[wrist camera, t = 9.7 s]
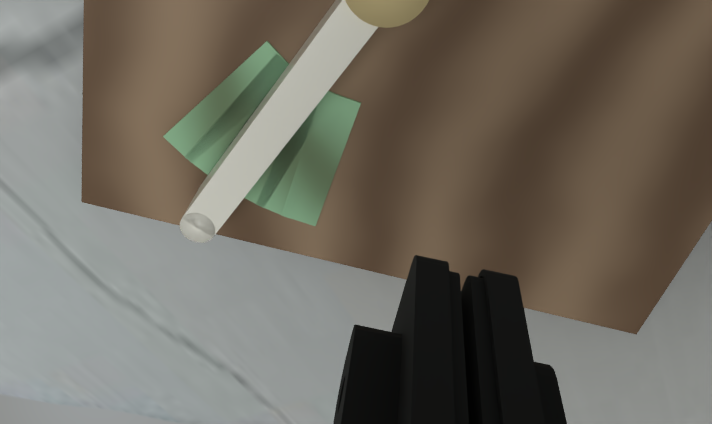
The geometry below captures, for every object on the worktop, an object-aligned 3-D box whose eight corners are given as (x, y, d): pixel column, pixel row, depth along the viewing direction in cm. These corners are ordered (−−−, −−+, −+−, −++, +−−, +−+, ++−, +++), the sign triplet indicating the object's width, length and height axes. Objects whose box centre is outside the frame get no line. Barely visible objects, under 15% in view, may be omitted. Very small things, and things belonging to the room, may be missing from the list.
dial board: (870, -54, 24) (891, -49, 23) (629, 319, 35) (636, 335, 34) (101, -281, 22) (85, -286, 21) (91, 190, 33) (80, 202, 32)
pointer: (382, -103, 23) (379, -92, 20) (447, -46, 24) (453, -28, 21) (178, 187, 30) (154, 225, 27) (234, 222, 31) (216, 263, 28)
